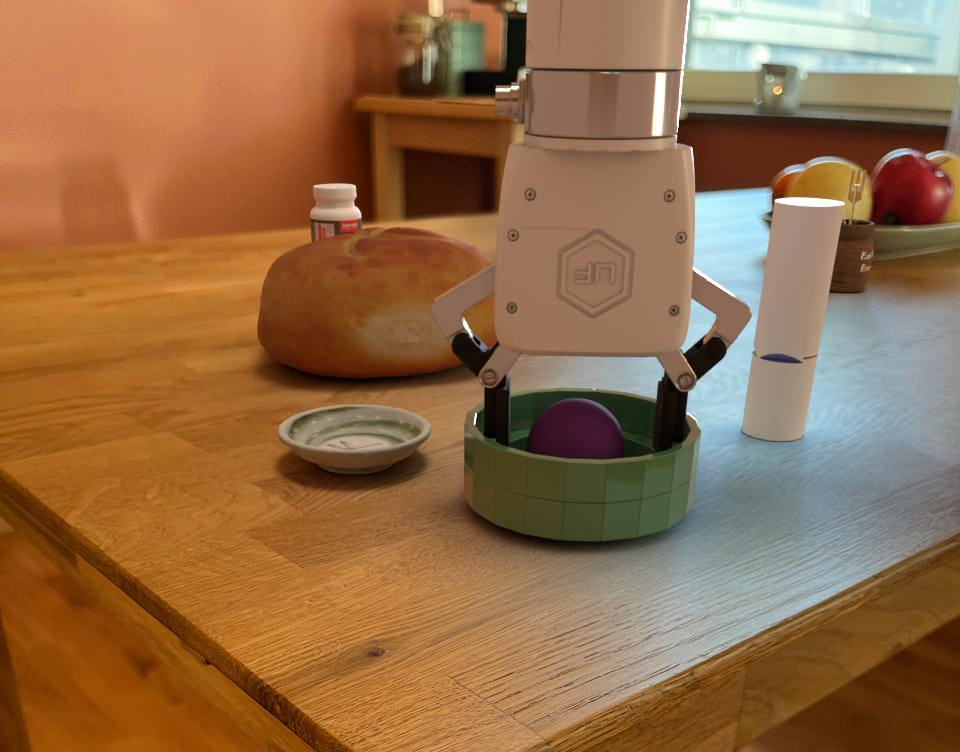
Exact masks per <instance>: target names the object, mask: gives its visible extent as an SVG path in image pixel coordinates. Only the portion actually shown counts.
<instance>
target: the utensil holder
mask: <svg viewBox="0 0 960 752" xmlns="http://www.w3.org/2000/svg"><path fill="white" fill-rule="evenodd" d="M861 172H862V170H861V169H858V170H857V175H856V180H855V173H856V170H855V168H854V169H852V170H851V175H850V181H849V185H848V187H847V188H846V190H844V193H843V195H842V200H841V202H843V203H845V205H844V210H843V218H842V222H841V227H840V233H839V239H838V244H837V250H836V256H835V261H834V267H833V273H832V278H831V284H830V290H829V292H831V293H832V292H834V293H858V292H862V291H864V290H865V289H866V288H867V285H868V281H869V277H870V274H871V273H870V272H871V269H872V268H871V267H872V262H873V257H874V250H875V245H874V244H875V243H874V241H873V240H872V239H871V237H873V236H874V234H875V223H874V222H873V221H869V220H864V219H861V216H862V214H863V212H864V210H865V207H862V203H863V197H864V195H863V194H864V193H865V197H864V200H866V199H867V192H866V189H865V183H866V177H867V173H868V171H867V169H864V170H863V173H862V179H861V184H860V178H861ZM854 180H855V183H854ZM853 188H854V190H853ZM859 188H860V190H859ZM845 195H846V196H845ZM844 198H845V201H844ZM847 200H848V201H849V202H850V203H851V208H850V212H849V213H850V214H849V218H846V204H847ZM858 202H860V206H859V209H858V211H857V215H856V217H855V219H854V213H855V207H856V204H857V203H858ZM863 204H864V205H863V206H865V205H866V202H864V203H863ZM861 209H862V212H861ZM859 215H860V216H859Z"/></svg>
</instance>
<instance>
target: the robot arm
mask: <svg viewBox="0 0 960 752" xmlns="http://www.w3.org/2000/svg"><path fill="white" fill-rule="evenodd" d="M690 3H691V1H690V0H526V33H525V36H526V37H525V39H526V40H525V68H530V70H525V78H523V77H521V78H519V81H518V82H517V81H515V82H514V81H513V82H511V83H510V85H495V95H494V97H495V98H494V100H495V103H494V106H495V107H494V108H495V109H494V111H495V117H510V120H518V121H517V122H518V125H523V124H524V127H523V129H524V131H523V141H515V142H512V143H511V144H509V145H508V149H507V154H506V159H505V164H504V167H503V168H504V169H503V174H502V180H501V181H502V182H501V188H500V197H499V206H498V214H497V215H498V216H497V230H496V233H497V234H496V248H495V261H494V262H491V263H492V264H491V265H489V266H487V267H486V268H484V269H482V270H481V271H479V272H477V273H476V274H474V275H472V276H471V277H469V278H468V279H466V280H464V281H463V282H461V283H459V284H458V285H456V286H454V287H453V288H451V289H449V290H448V291H446V292H444V293H443V294H441V295H440V296H438V297H436V298H435V299H434V301H433V303H432V306H431V314H432V316H433V318H434V319H435V321H436V323H437V325H438V326H439V328H440V330H441V331H442V333H443V335H444V336H445V338H446V339H447V340H448V342H449V344H450V345H451V348H452V351H453V353H454V354H455V355H456V356H457V357H458V358H459V359H460V360H461V361H462V362H463V363H464V364H463V365H464V366H466V368H468V370H469V371H471V373H473V375H475V377H476V378H477V379H478V382H479V384H480V385H481V386H482V387H483V402H484V436H486V437H487V438H493V439H496V442H497V443H499V444H501V445H503V446H507V447H509V432H510V393H511V377H508V372H509V371H510V370H511V368H512V367H513V366H514V365H515V364H516V363H517V361H518V359H519V358H520V357H521V356H522V355H525V356H546V357H587V358H588V357H589V358H656V359H657V361H658V363H659V364H660V365H661V368H662V369H663V376H661V380H657V389H656V398H655V399H656V409H655V420H654V431H653V447H654V450H655V453H657V452H661V451H665V450H668V449H670V448H672V442H678V443H681V442H682V441H683V435H684V426H685V417H686V412H687V407H688V399H689V392H690V391H692V390H693V389H695V387H696V386H697V382H698V381H699V380H700V379H701V378H702V377H704V376H705V375H706V374H707V373H708V372H710V371H711V370H712V369H713V368H714V367H716V365H718V364H719V363H720V362H721V361H722V360H723V359H724V358H725V357H726V355H727V352H728V350H729V349H730V347H731V346H732V345H733V344H734V343H735V341H736V340H737V339H738V338H739V337H740V335H741V333H742V332H743V331H744V330H745V328H746V327H747V325H748V324H749V323H750V322H751V319H752V318H753V317H752V316H753V312H752V309H751V308H750V307H749V305H748V304H747V303H746V302H745V301H744V300H742V299H741V298H739V297H738V296H736V295H735V294H733V293H732V292H731V291H729V290H728V289H726V288H724V287H723V286H722V285H720V284H718V283H717V282H716V281H714V280H713V279H711V278H710V277H708V276H707V275H706V274H704V273H702V271H700V270H699V269H696V268H695V267H694V256H695V237H696V235H695V233H696V182H695V181H696V180H695V179H696V177H695V164H694V163H695V162H694V153H693V147H692V146H690V145H687V144H684V143H677V140H678V135H677V134H678V128H679V119H680V118H679V117H680V109H681V108H680V107H681V97H682V96H681V95H682V88H683V87H682V86H683V85H682V84H683V76H684V71H683V69H684V67H685V66H684V65H685V55H686V43H687V33H688V32H687V31H688V24H689V23H688V22H689V21H688V20H689V12H690ZM493 294H494V325H495V333H496V337H497V340H496V341H495V342H494V344H493V345H492V346H491V348H490V349H488V348H487V347H486V346H485V345H484V343H483V342H482V341H481V340H480V339H479V338H478V337H477V336H476V335H475V334H474V333H473V332H472V331H471V330H470V329H469V327H468V325H467V324H466V321H465V319H464V317H463V313H464V312H465V311H466V310H467V309H469V308H471V307H472V306H474V305H476V304H477V303H479V302H481V301H482V300H484V299H486V298H487V297H489V296H491V295H493ZM692 300H693V301H695V302H696V303H697V304H699V305H701V306H702V307H704V308H705V309H707V310H708V311H710V312H711V313H713V314H714V315H715V320H714V322H713V324H712V325H711V328H710V329H709V330H708V331H707V333H705V334H704V335H703V336H702V337H700V338H699V339H698V340H697V341H696V342H695V343H694V344H693V345H692V346H691V347H690V348H688V349H687V350H686V351H685V352H683V349H682V347H683V345H684V344H685V342H686V340H687V337H688V336H687V335H688V331H689V324H690V316H691V304H692Z"/></svg>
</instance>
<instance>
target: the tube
mask: <svg viewBox="0 0 960 752" xmlns="http://www.w3.org/2000/svg"><path fill="white" fill-rule="evenodd" d="M845 206H846V205H845V202H844V201H843V202H842V200H841V201H840V200H836V199H828V198H818V197H781V198H780V197H779V198H776V199H774V203H773V208H772V217H771V223H770V229H769V237H768V242H767V243H768V244H767V251H766V258H765V265H764V272H763V279H762V285H761V286H762V287H761V292H760V297H759V306H758V312H757V318H756V327H755V332H754V338H753V339H754V340H753V348H754V350H753V351H752V354H751V360H750V367H749V374H748V380H747V387H746V394H745V401H744V409H743V414H742V422H741V431H742V432H743V433H744V434H745V435H747V436H749V437H752V438H755V439H758V440H763V441H771V442H790V441H796V440H798V439H801V438H803V436H804V434H805V429H806V423H807V419H808V412H809V406H810V402H811V401H810V400H811V396H812V390H813V384H814V378H815V373H816V368H817V367H816V366H817V361H818V355H819V351H820V350H819V349H820V344H821V339H822V334H823V328H824V322H825V317H826V311H827V306H828V300H829V296H830V295H829V294H830V291H829V290H830V284H831V278H832V273H833V267H834V261H835V256H836V250H837V244H838V239H839V233H840V227H841V222H842V219H843V217H844V207H845Z"/></svg>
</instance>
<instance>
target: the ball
mask: <svg viewBox="0 0 960 752" xmlns="http://www.w3.org/2000/svg"><path fill="white" fill-rule="evenodd" d="M527 452H528V453H532V454H538V455H545V456H552V457H559V458H566V459H598V460H606V459H618V458H623V457H624V437H623V433H622V430H621V428H620V425H619V423H618V422H617V420H616V419H615V417H614V416H613V415H612V414H611V413H610V412H609V411H608V410H607V409H606V408H604V407H603V406H602V405H600V404H598V403H596V402H594V401H590V400H587V399H579V398H572V399H566V400H562V401H559V402H557V403H555V404H553V405H551V406H549V407H548V408H547V409H545V410H544V411H543V412H542V413H541V414H540V415H539V416H538V418H537V419H536V420H535V422H534V424H533V425H532V427H531V429H530V432H529V435H528V439H527Z"/></svg>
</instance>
